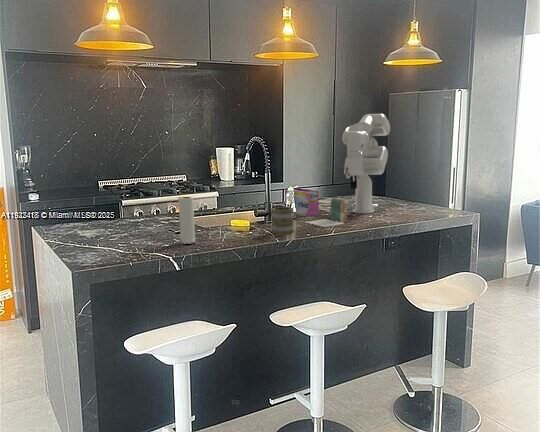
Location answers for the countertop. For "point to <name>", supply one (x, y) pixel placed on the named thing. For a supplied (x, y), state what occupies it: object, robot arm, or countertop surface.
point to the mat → (324, 223)
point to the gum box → (306, 201)
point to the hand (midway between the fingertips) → (353, 188)
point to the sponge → (339, 210)
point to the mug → (282, 220)
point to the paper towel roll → (186, 219)
